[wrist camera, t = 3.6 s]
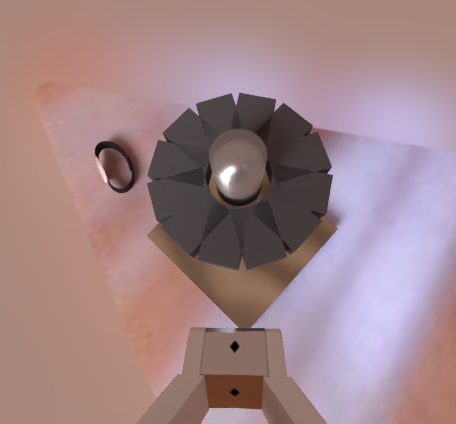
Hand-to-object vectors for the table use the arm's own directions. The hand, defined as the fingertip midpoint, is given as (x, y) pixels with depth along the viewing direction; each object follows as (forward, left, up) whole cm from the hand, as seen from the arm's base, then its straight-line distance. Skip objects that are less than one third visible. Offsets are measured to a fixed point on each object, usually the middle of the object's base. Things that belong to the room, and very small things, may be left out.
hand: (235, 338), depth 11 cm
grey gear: (-6, -6, -9) cm, 12 cm away
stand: (-6, -6, -30) cm, 31 cm away
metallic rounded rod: (-6, -6, -28) cm, 29 cm away
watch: (-1, -25, -30) cm, 39 cm away
